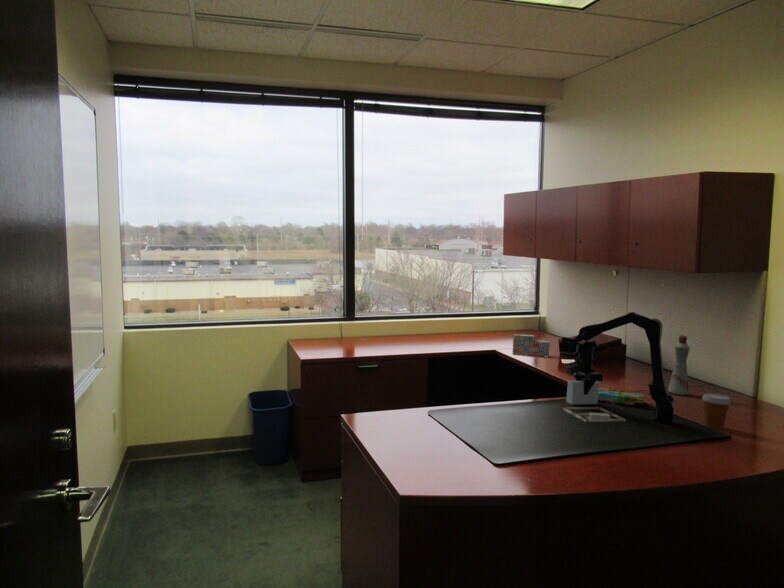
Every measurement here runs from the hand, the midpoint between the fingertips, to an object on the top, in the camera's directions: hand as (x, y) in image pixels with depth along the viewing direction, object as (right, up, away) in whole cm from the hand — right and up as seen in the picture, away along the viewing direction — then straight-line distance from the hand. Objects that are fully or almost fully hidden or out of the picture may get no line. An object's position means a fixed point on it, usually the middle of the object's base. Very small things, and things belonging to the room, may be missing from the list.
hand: (582, 393), depth 242 cm
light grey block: (0, -4, 0) cm, 4 cm away
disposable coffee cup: (+44, -10, -19) cm, 49 cm away
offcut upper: (0, -6, -20) cm, 21 cm away
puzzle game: (+20, -6, +13) cm, 24 cm away
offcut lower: (0, -8, -20) cm, 21 cm away
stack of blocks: (+5, +3, +114) cm, 114 cm away
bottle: (+55, -6, +33) cm, 65 cm away
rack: (-1, -7, -16) cm, 18 cm away
